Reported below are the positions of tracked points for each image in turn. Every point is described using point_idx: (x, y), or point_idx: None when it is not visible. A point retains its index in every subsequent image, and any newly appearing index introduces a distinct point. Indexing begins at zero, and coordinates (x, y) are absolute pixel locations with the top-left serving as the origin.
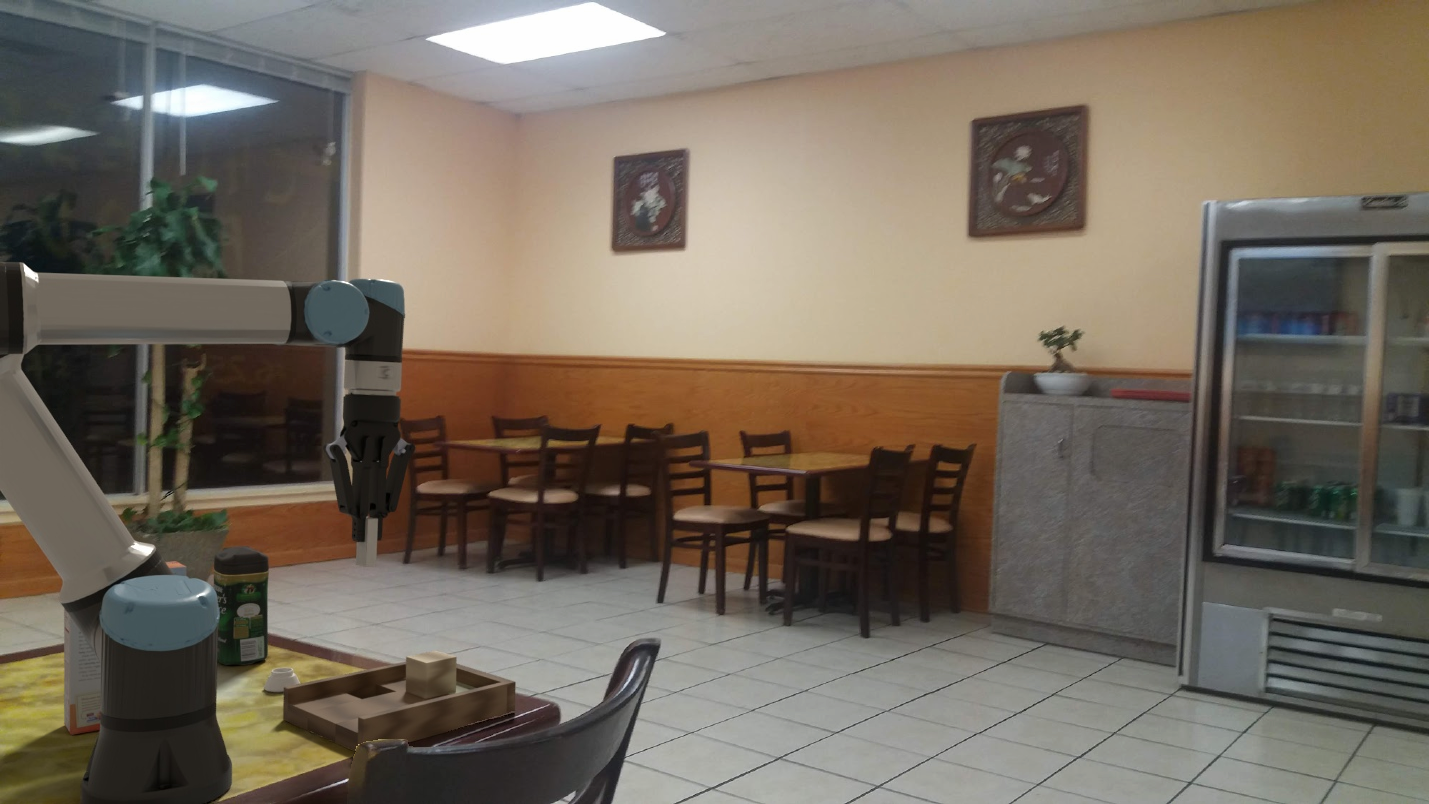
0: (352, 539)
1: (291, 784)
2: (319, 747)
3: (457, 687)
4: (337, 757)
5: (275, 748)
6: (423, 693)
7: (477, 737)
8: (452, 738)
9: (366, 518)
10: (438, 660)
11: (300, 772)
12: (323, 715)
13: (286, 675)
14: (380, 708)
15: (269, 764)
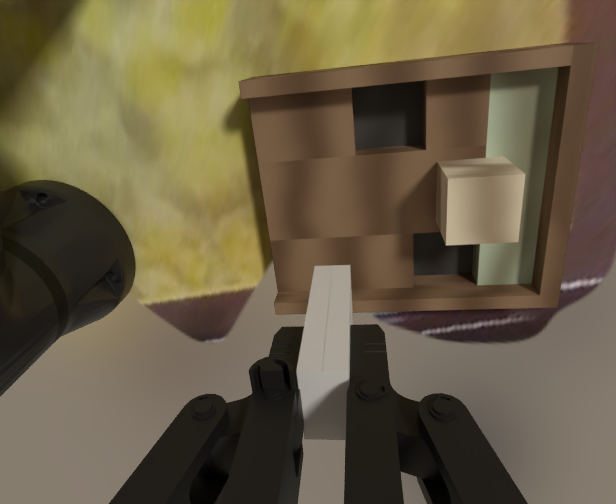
0: (279, 330)
1: (188, 315)
2: (252, 231)
3: None
4: (257, 276)
5: (205, 198)
6: (437, 216)
7: (427, 323)
8: None
9: (309, 420)
10: (474, 242)
11: (206, 291)
12: (270, 196)
13: None
14: (353, 219)
15: (183, 247)
